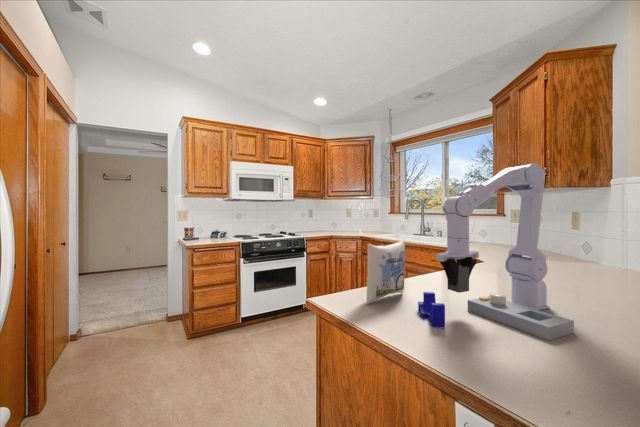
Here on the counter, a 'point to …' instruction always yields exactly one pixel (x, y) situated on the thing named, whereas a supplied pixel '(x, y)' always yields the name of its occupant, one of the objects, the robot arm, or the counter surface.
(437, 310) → the cable clip
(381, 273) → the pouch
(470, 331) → the counter surface
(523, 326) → the power strip
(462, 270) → the plug
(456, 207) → the robot arm
